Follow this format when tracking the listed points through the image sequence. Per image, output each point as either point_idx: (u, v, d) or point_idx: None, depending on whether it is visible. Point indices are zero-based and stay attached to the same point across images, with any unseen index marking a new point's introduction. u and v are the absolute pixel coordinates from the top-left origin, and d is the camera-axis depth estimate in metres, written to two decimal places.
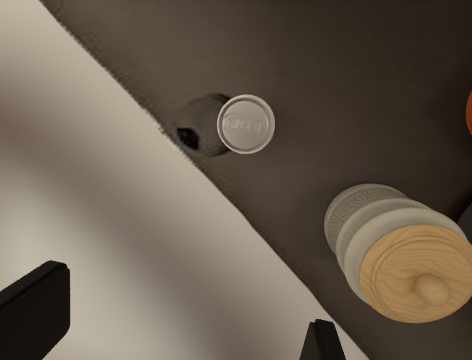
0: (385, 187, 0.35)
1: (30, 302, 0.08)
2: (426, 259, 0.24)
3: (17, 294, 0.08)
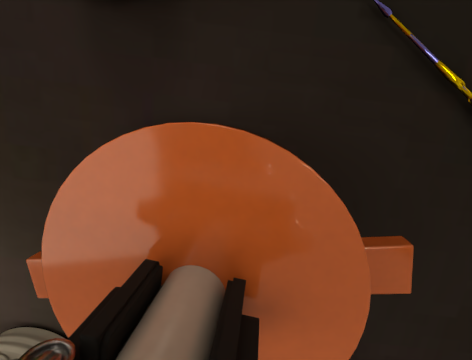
0: (16, 352, 0.21)
1: (144, 295, 0.09)
2: None
3: (135, 288, 0.09)
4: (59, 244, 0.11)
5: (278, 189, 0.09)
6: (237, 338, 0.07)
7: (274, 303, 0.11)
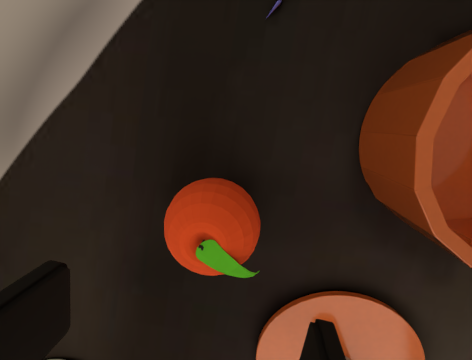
0: None
1: (30, 302, 0.08)
2: None
3: (17, 294, 0.08)
4: None
5: (284, 329, 0.22)
6: None
7: (343, 334, 0.22)
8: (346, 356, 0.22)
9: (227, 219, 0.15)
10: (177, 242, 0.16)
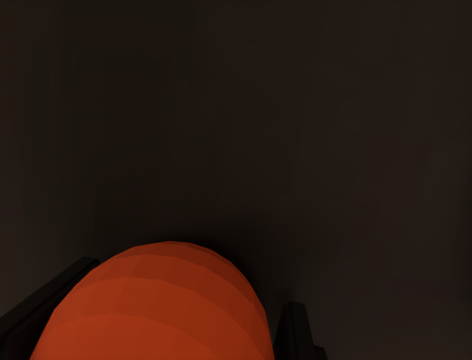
0: None
1: None
2: None
3: (60, 287, 0.08)
4: None
5: None
6: None
7: None
8: None
9: None
10: None
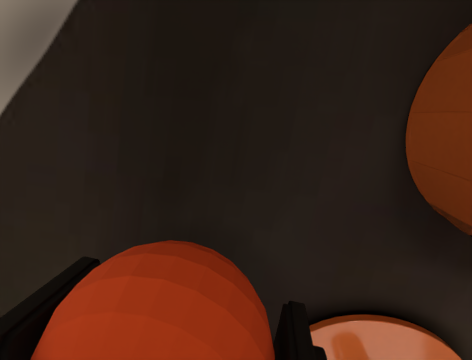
0: None
1: None
2: None
3: (60, 287, 0.08)
4: None
5: None
6: None
7: None
8: None
9: None
10: None
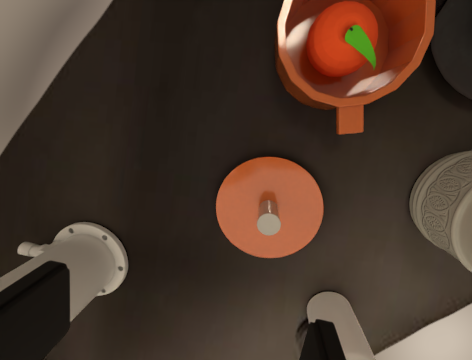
0: (422, 195, 0.30)
1: (30, 302, 0.08)
2: None
3: (17, 294, 0.08)
4: (253, 249, 0.36)
5: (233, 184, 0.34)
6: None
7: (270, 185, 0.34)
8: (273, 201, 0.34)
9: (367, 14, 0.23)
10: (332, 29, 0.23)
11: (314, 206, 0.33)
